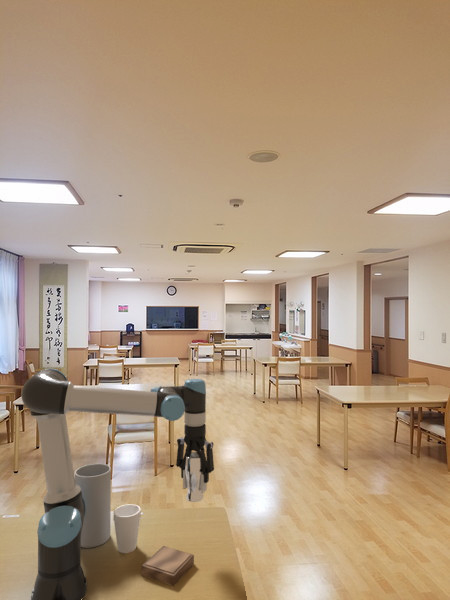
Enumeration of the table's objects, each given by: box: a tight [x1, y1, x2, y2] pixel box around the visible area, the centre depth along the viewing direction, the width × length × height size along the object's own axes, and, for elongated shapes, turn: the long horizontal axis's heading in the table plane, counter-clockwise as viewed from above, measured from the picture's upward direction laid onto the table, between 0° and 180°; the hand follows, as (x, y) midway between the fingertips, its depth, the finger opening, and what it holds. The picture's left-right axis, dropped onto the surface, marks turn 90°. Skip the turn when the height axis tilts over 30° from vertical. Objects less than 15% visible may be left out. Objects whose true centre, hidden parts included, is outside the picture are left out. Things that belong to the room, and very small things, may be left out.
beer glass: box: [185, 451, 204, 503], centre depth 144 cm, size 7×7×15 cm
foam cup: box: [113, 503, 142, 554], centre depth 144 cm, size 10×9×13 cm
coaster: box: [141, 545, 195, 587], centre depth 132 cm, size 12×12×3 cm
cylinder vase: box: [74, 463, 112, 549], centre depth 150 cm, size 12×12×25 cm
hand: (194, 489), depth 144 cm, fingers closed on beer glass, 7 cm apart
